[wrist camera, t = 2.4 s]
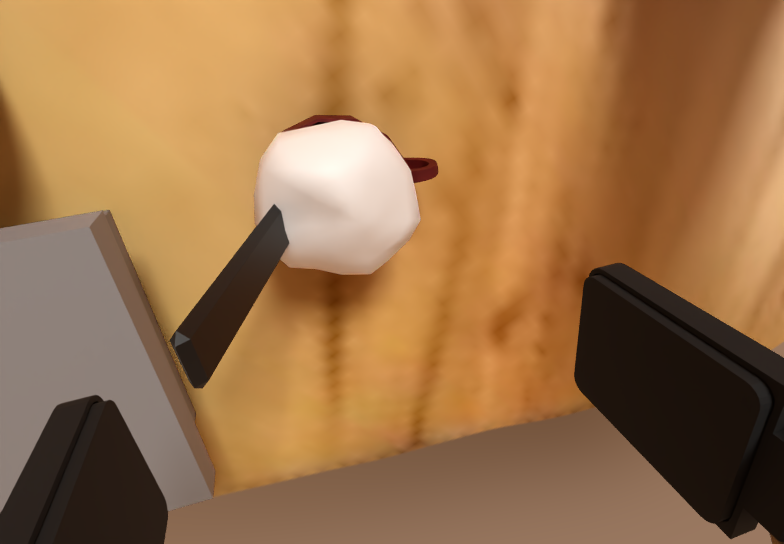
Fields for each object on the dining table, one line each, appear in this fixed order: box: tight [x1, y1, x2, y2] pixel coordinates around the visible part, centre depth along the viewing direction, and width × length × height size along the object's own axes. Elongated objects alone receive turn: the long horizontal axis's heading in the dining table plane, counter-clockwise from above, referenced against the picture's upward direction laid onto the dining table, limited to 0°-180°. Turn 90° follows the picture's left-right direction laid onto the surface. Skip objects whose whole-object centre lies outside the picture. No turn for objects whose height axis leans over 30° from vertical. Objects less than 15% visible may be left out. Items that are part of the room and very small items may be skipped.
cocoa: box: [170, 115, 438, 388], centre depth 16 cm, size 10×6×12 cm, turn 77°
